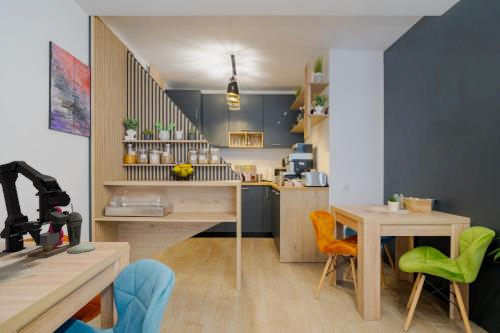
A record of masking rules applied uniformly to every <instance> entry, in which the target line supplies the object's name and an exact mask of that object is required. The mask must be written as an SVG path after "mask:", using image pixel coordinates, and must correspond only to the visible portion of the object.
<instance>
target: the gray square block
mask: <svg viewBox="0 0 500 333" xmlns="http://www.w3.org/2000/svg"><path fill="white" fill-rule="evenodd" d="M57 243H59V233H58V232H47V231H46V232H42V233H40V244H39V245H37V244H36V243H35V247H36V246H37V247H43V246H50V245H53V244H57Z"/></svg>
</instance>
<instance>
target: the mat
mask: <svg viewBox="0 0 500 333" xmlns="http://www.w3.org/2000/svg"><path fill="white" fill-rule="evenodd" d="M96 248H97V247H96V245H91V244H90V245H89V244H87V245H86V244H85V245H79V246H74V247H70V248H69V249H67V253H69V254H83V253H82V252H84V253H89V252H91V251H94V250H95V249H96Z"/></svg>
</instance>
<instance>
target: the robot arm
mask: <svg viewBox="0 0 500 333" xmlns="http://www.w3.org/2000/svg"><path fill="white" fill-rule="evenodd" d="M19 174H20V175H21V176H23V177H25V178H26V179H28V180H29V181H30V182H32V186H33V187H34V188H35V190H37V192H36V193H35V194H34V196H35V197H38V208H37V209H36V212H38V218H36V220H35V221H34V220H32V221H29V217H28V215H27V214H26V215H24V214H23V212H22V208H21V204H20V200H19V194H18V189H17V186H16V183H17V181H18V178H19ZM0 185H1V188H2V194H3V199H4V202H5V203H4V204H5V209H6V213H7V216H6V218H5V220H4V227H3V229H1V231H0V239H3V240H5V243H4V244H5V246H4V247H5V249H2V250H1V252H3V253H4V252H7V253H14V252H17V251H18V252H19V251H22V250H24V249H27V246H24V245H25V243H24V242H25V241H24V240H25V239H24V236H27V235H30V237H31V238H32V240H33V241H34V243H35V245H36V244H37V245H39V244H40V234H41V232H42V231H43V228H42V227H43V226H46V225H50V224H51V223H52V228H53V232H58V233H59V234H60V231H61V229H62V230H63V227H64V226H65V225H66V224H67V223H66V222H69V214H70V211H68V210H64V211H63V210H62V212H58V209H57V208H55V207H60V208H62V207H63V208H66V207H68V206H69V205H71V200H72V199H71V197H70V195H69V194H68V193H67V190H63V189H62V187H61V186H60V184H59V182H58V180H57V179H56V177H53V176H50V175H49V174H48V175H46V174H43V173H41V172H40V171H39V170H36V169H35V168H34V167H32V166H31V165H30V164H28V163H27V162H26V161H25V160H12V161H10V162H7V163H3V164H0Z"/></svg>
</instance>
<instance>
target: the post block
mask: <svg viewBox="0 0 500 333" xmlns="http://www.w3.org/2000/svg"><path fill="white" fill-rule="evenodd" d="M63 252H68V247H67V246H53V245H50V246H42V248H38V249H36V250H32V251H29V252H27V257H34V258H50V257H53V256H55V255H58V254H62V253H63Z"/></svg>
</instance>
